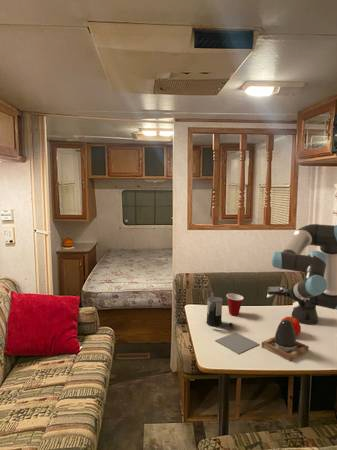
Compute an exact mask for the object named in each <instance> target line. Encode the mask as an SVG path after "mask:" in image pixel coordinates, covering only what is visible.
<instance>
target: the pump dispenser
mask: <svg viewBox="0 0 337 450" xmlns="http://www.w3.org/2000/svg"><path fill="white" fill-rule="evenodd" d="M274 337H275V339H274V341H275V343H274V344H275V347H276V348H278V349H280V350H282V351H284V352H286V353H288V352H292V351H293V350H294V349H295V348H296V347H295V345H296V341H297V338H296V337H297V335H295V331H294V327H293V325H292V323H291V322H290V321H289V320H282V319H281V320H280V322H279V324H278V325H277V328H276V331H275V334H274Z"/></svg>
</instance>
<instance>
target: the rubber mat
mask: <svg viewBox="0 0 337 450" xmlns="http://www.w3.org/2000/svg"><path fill="white" fill-rule="evenodd" d="M214 342H216V343H218V344H220V345H221V346H223V347H225V348H227V349H228V350H230V351H232V352H234V353H236V354H237V355H240V354H242V353H245V352H247V351H250V349H253V348H255V347H257V346H260V343H258V342H256V341H254V340H252V339H250V338H248V337H247V336H244V335H242V334H240V333H238V332H236V331H234V332H232V333H230V334H227V335H225V336H223V337H219V338H217V339H215V340H214Z"/></svg>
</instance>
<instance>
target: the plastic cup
mask: <svg viewBox="0 0 337 450" xmlns="http://www.w3.org/2000/svg"><path fill="white" fill-rule="evenodd" d="M243 300H244V296H243V295H240V294H236V293H227V294H226V301H227V307H228V308H227V309H228V313H229V315H230V316H231V317H232V316H233V317H238V316H239V314H240V310H241V307H242V302H243Z"/></svg>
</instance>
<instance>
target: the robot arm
mask: <svg viewBox="0 0 337 450" xmlns="http://www.w3.org/2000/svg"><path fill="white" fill-rule="evenodd" d="M308 246H315V247H319V249H320V251H319V250H311V251H310V252H309V253H308V255H306V254H302V253H303V252H304V250H305V248H307V247H308ZM271 265H272V267H273V268H274V269H275V268H276V269H279V270H285V271H294V272H298V273H299V272H300V273H304V276H303V280H302V281H299V282H298V283H296V284H293V285H291V286H290V287H289V288H285V286H284V285H279V286H268V287H267V290H266V292H267V294H266V298H267V299H269V298H271V297H273V296H274V295H275V296H282V297H285V298H288V299H289V298H290V299H292V300H293V301H294V302H292V308H291V309H292V311H291V316H290V317H292V318H296V319H297V320H298V321H299V324H304V325H315V324H317V323H319V316H318V312H317V306H318V307H322V308H327V309H331V310H337V225H329V224H319V223H313V224H307V225H304V226H302V227H299V228H298V229H296V231H295V232H294V233H293V235H292V239H291V240H290V241H289V243H288V244H287V245H286V247H285V248H284V249H283V250H282V251H274V252H273V254H272V257H271Z"/></svg>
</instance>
